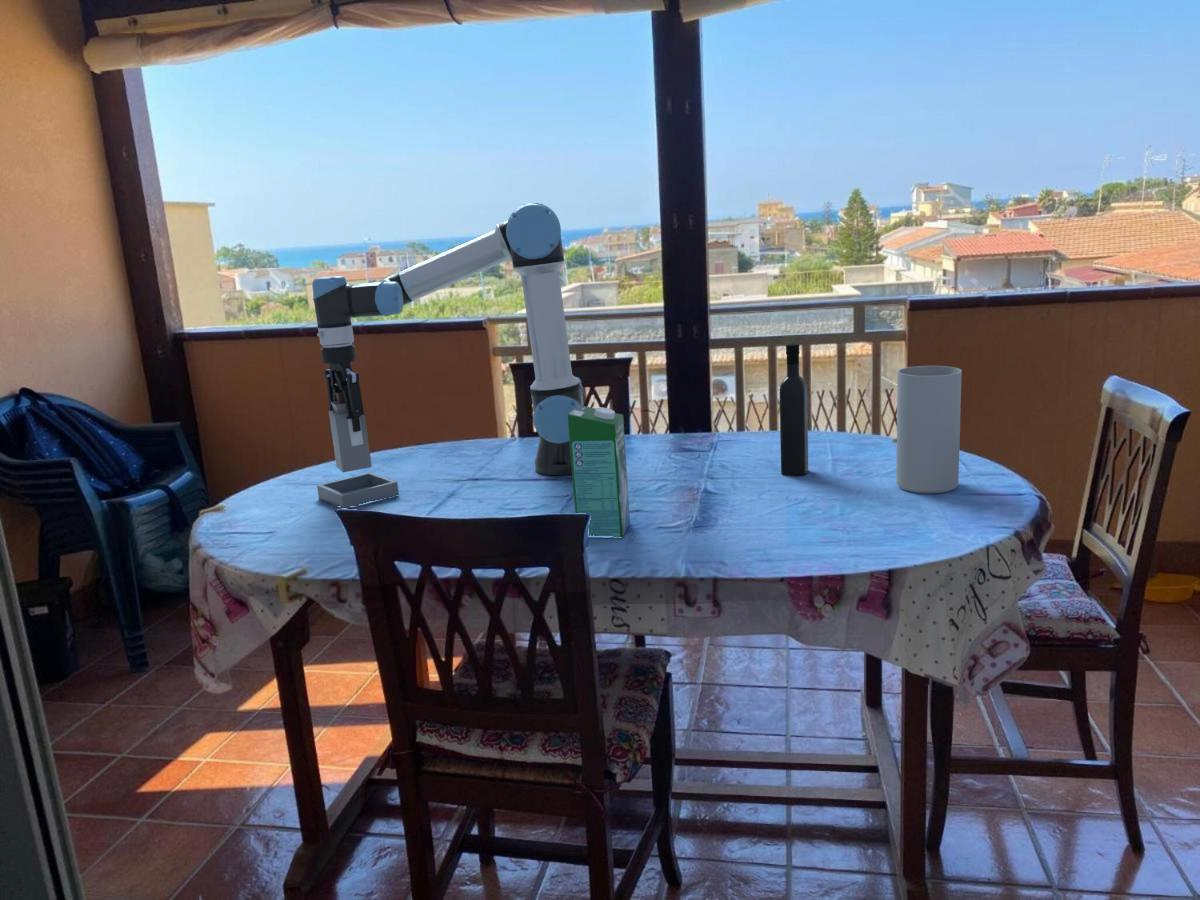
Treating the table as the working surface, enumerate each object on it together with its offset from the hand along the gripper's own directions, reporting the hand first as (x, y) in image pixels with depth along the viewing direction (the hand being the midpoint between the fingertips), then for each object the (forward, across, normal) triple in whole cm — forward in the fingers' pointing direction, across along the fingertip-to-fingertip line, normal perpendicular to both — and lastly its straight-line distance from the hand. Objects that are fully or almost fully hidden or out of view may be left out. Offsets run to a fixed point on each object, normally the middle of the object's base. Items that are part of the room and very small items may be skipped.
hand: (350, 442), depth 212 cm
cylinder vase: (+13, +98, +85) cm, 131 cm away
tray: (+14, 0, 0) cm, 14 cm away
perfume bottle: (+6, 0, 0) cm, 6 cm away
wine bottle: (+13, +69, +77) cm, 104 cm away
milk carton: (+14, +65, +22) cm, 70 cm away
